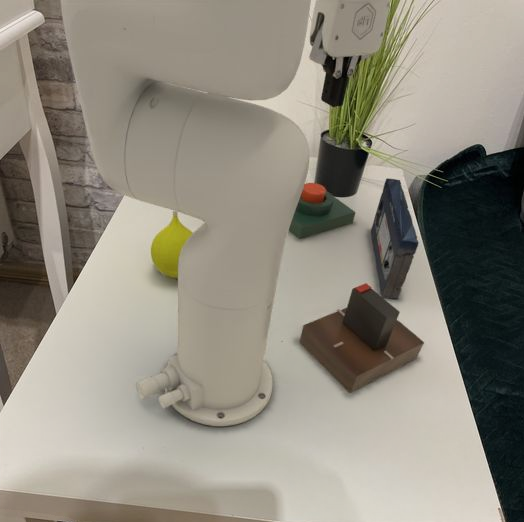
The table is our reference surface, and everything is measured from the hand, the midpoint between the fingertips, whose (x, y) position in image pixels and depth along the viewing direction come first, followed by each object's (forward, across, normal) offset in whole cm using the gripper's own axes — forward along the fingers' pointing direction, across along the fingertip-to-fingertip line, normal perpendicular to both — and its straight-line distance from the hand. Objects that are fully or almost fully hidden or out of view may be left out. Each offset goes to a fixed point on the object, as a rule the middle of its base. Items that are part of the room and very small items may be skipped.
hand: (331, 103), depth 77 cm
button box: (+19, 0, 0) cm, 19 cm away
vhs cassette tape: (+19, +2, -16) cm, 25 cm away
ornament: (+19, -28, -4) cm, 34 cm away
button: (+16, 0, 0) cm, 16 cm away
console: (+19, -15, -29) cm, 38 cm away
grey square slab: (+16, -15, -29) cm, 36 cm away
